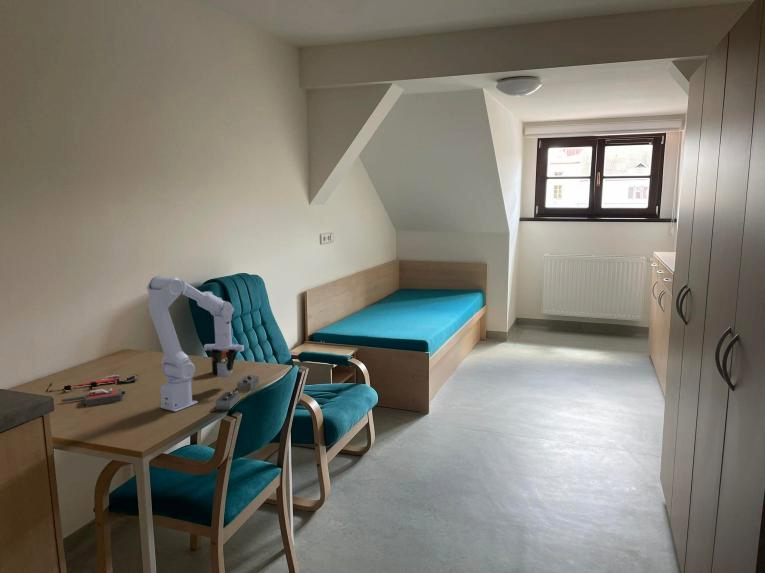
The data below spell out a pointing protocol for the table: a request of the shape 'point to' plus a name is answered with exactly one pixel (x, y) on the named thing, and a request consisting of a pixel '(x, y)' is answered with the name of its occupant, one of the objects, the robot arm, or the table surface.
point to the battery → (214, 366)
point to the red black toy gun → (102, 381)
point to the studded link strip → (237, 393)
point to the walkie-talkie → (99, 397)
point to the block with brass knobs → (223, 368)
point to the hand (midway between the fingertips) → (225, 369)
